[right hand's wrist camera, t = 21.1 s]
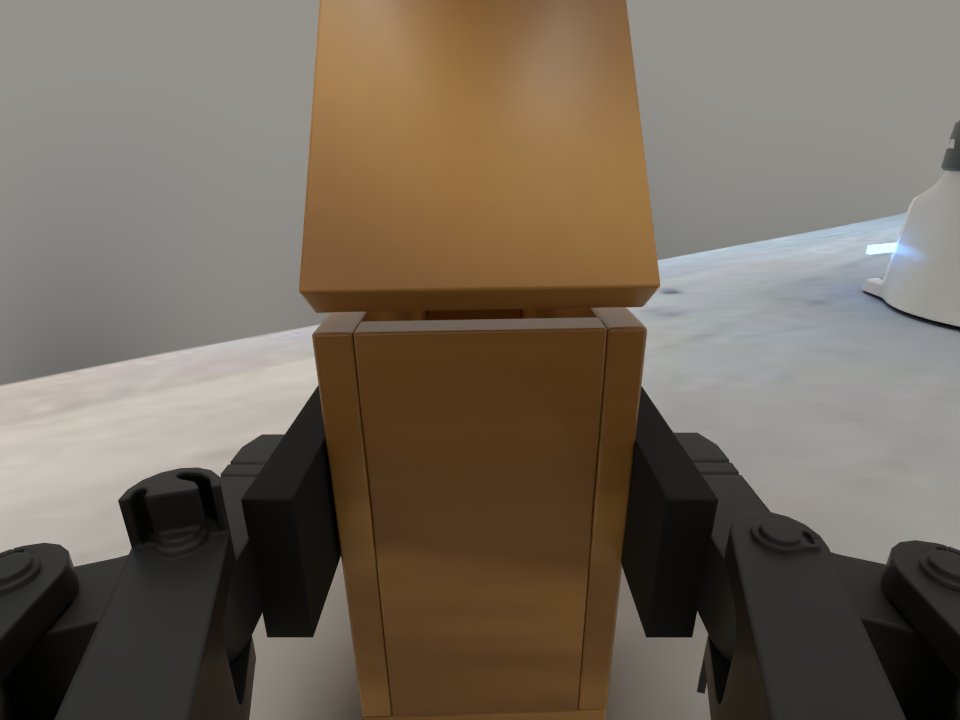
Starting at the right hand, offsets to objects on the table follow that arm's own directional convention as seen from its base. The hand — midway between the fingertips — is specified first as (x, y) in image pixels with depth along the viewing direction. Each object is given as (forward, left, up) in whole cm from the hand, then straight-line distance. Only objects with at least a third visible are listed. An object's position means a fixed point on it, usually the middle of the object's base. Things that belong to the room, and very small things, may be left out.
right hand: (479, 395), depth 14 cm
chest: (+2, +1, -6) cm, 7 cm away
